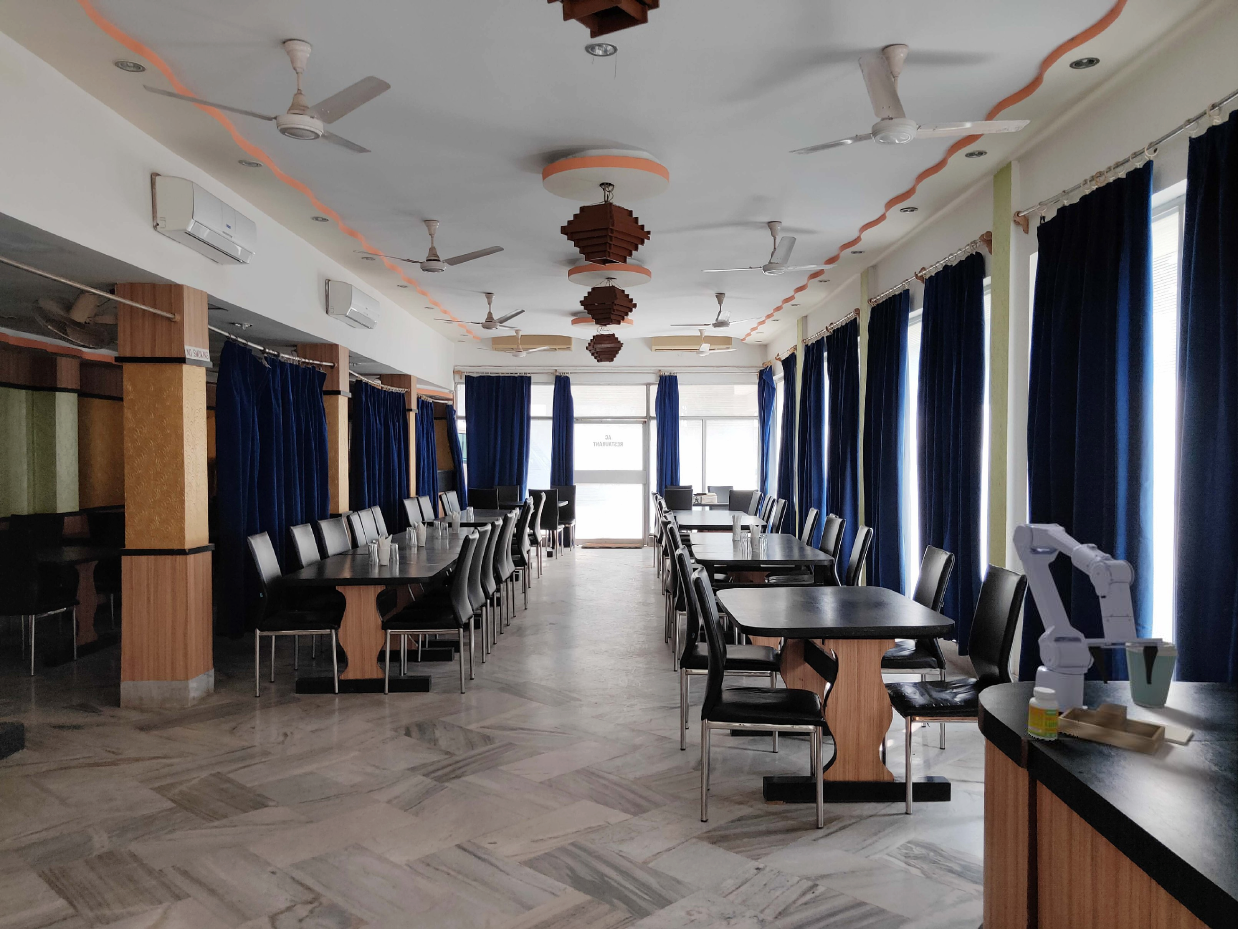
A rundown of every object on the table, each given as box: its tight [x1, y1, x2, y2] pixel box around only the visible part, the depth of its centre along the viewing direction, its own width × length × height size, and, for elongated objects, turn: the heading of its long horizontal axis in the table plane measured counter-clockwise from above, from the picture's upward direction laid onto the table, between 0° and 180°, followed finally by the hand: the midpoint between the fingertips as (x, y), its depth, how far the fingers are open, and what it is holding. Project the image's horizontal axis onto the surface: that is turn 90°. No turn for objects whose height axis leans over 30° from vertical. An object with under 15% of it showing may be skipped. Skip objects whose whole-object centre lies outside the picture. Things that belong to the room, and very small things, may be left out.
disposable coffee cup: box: [1124, 640, 1179, 709], centre depth 192 cm, size 11×11×15 cm
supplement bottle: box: [1027, 687, 1059, 741], centre depth 167 cm, size 5×5×10 cm
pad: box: [1136, 718, 1194, 746], centre depth 172 cm, size 10×10×1 cm
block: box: [1095, 701, 1128, 732], centre depth 169 cm, size 4×8×6 cm, turn 137°
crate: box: [1058, 706, 1166, 756], centre depth 169 cm, size 17×11×3 cm, turn 47°
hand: (1127, 684), depth 168 cm, fingers open, 7 cm apart
